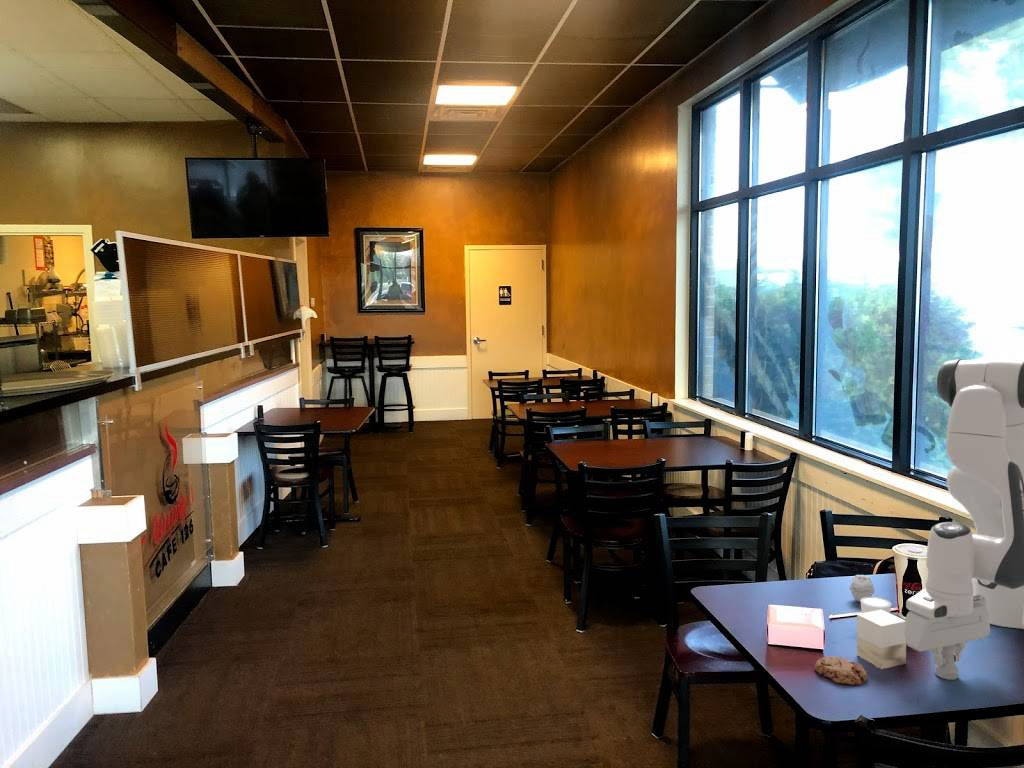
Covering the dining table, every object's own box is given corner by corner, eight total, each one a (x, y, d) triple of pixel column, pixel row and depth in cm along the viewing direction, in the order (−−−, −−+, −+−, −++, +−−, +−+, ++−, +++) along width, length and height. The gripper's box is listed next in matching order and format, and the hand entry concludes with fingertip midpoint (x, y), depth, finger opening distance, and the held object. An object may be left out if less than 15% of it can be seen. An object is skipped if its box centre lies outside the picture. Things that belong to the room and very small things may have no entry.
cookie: (818, 661, 171) (818, 648, 171) (869, 671, 166) (870, 658, 166) (810, 679, 163) (810, 666, 163) (864, 691, 158) (864, 677, 157)
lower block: (880, 651, 175) (881, 630, 175) (905, 664, 169) (906, 642, 168) (856, 656, 173) (857, 635, 172) (880, 669, 166) (881, 647, 166)
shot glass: (894, 635, 182) (895, 607, 182) (863, 634, 184) (864, 606, 183) (886, 624, 189) (886, 597, 188) (856, 622, 191) (857, 595, 190)
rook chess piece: (954, 671, 164) (955, 636, 163) (961, 681, 160) (963, 645, 159) (932, 669, 165) (933, 634, 164) (938, 679, 161) (939, 643, 160)
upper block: (880, 630, 175) (880, 609, 174) (905, 642, 168) (906, 620, 168) (856, 635, 172) (857, 614, 172) (881, 648, 166) (881, 626, 165)
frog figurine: (875, 598, 205) (876, 573, 205) (872, 608, 199) (873, 582, 199) (851, 595, 208) (851, 570, 208) (847, 603, 202) (848, 578, 202)
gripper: (972, 588, 167) (970, 648, 169) (899, 601, 161) (898, 664, 162) (999, 598, 161) (996, 660, 163) (924, 612, 155) (922, 677, 156)
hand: (947, 662), depth 162 cm, fingers closed on rook chess piece, 3 cm apart
